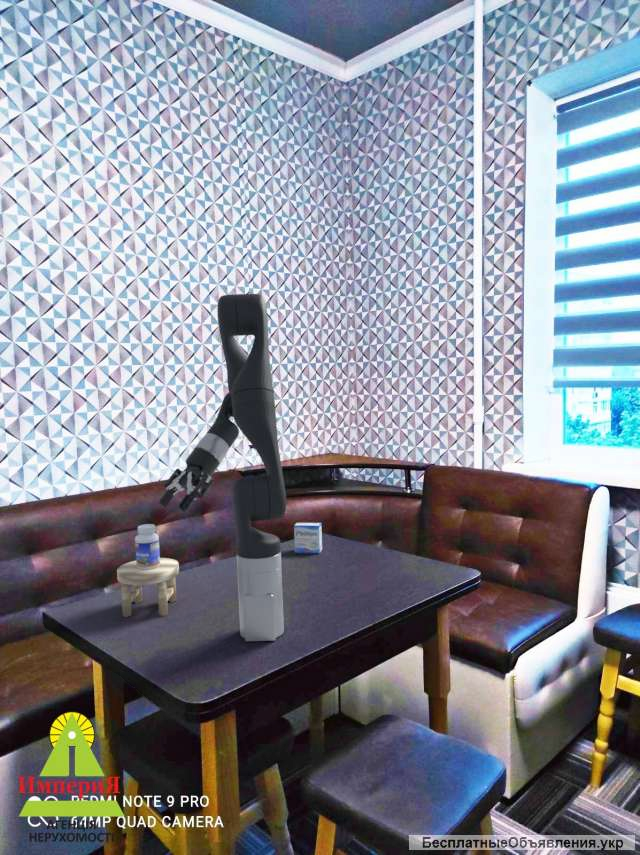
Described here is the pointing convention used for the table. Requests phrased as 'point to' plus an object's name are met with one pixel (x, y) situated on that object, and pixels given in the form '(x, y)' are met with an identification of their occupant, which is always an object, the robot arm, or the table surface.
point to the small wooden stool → (138, 577)
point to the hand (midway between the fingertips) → (170, 507)
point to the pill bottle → (147, 547)
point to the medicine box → (308, 537)
